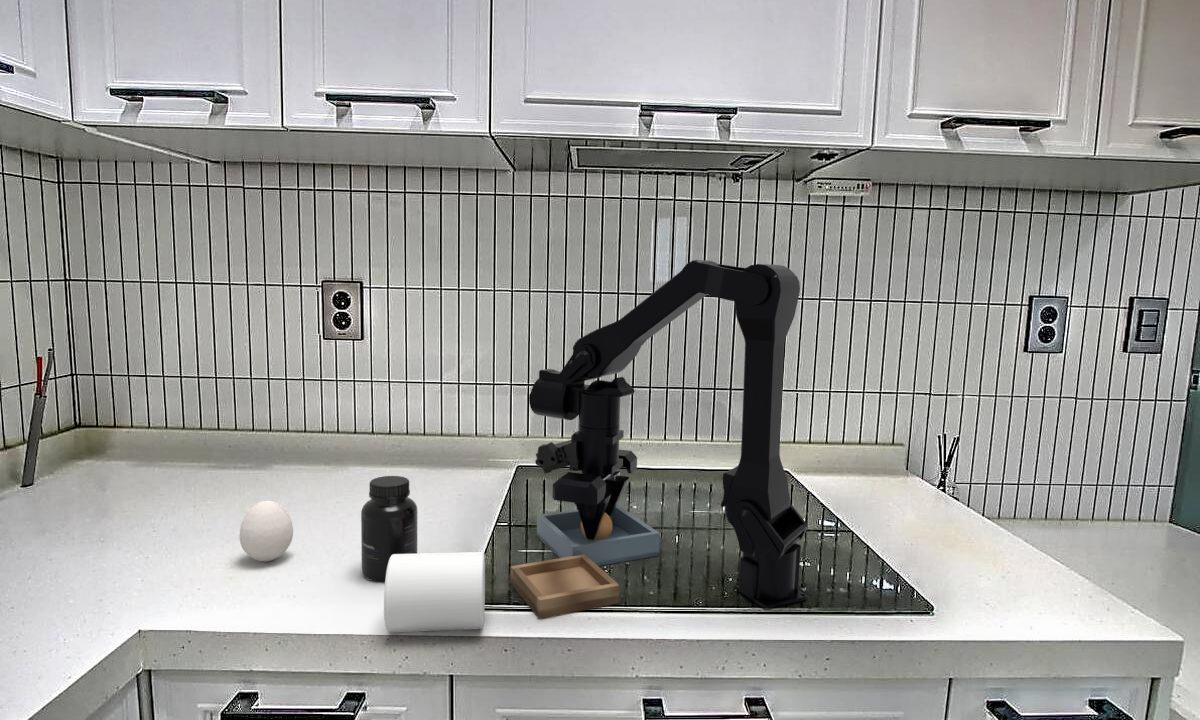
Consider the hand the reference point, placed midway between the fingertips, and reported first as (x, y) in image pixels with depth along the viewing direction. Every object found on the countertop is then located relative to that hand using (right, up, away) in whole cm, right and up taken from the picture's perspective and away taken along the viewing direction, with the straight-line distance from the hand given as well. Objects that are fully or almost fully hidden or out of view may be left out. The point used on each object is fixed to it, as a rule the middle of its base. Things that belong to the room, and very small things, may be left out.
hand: (596, 533), depth 102 cm
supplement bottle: (-26, -3, -10) cm, 28 cm away
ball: (0, +1, 0) cm, 1 cm away
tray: (-4, -4, -15) cm, 16 cm away
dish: (0, -2, 0) cm, 2 cm away
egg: (-43, -2, -7) cm, 44 cm away
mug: (-17, -4, -21) cm, 28 cm away
